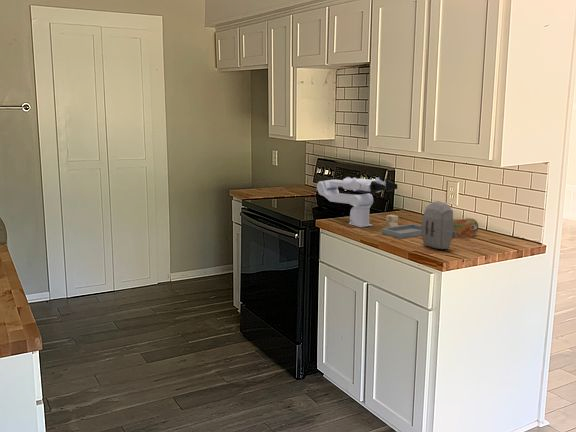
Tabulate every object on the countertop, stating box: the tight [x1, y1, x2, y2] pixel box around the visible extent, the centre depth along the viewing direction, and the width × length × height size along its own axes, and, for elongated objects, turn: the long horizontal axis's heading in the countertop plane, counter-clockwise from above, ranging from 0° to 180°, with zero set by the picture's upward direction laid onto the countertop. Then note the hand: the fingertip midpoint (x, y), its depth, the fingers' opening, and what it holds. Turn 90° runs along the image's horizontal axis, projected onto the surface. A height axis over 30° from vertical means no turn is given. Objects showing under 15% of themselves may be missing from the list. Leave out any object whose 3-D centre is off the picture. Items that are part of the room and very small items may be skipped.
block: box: [385, 214, 399, 228], centre depth 277 cm, size 4×4×6 cm
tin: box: [452, 218, 479, 238], centre depth 260 cm, size 15×3×8 cm, turn 105°
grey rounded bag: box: [420, 200, 454, 250], centre depth 238 cm, size 15×8×20 cm, turn 30°
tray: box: [381, 223, 422, 240], centre depth 265 cm, size 12×20×2 cm, turn 124°
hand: (390, 187), depth 262 cm, fingers open, 7 cm apart
